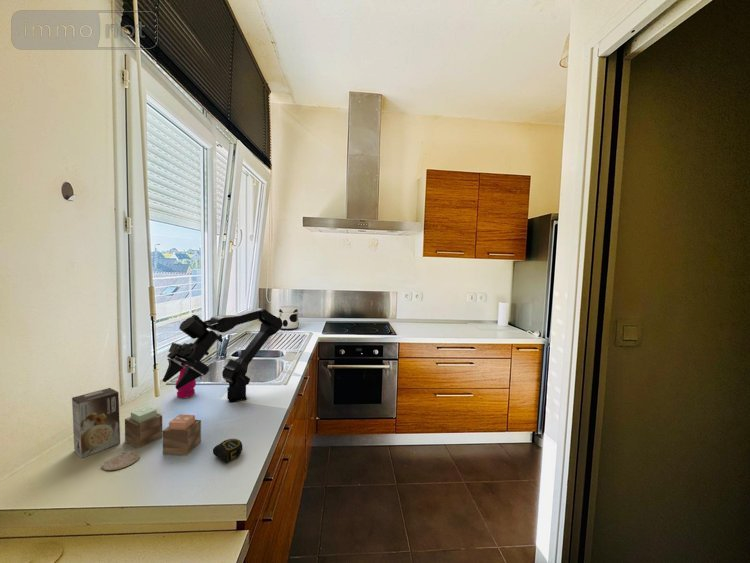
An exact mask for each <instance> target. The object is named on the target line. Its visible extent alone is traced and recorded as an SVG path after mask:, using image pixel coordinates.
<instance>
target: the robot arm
mask: <svg viewBox="0 0 750 563" xmlns="http://www.w3.org/2000/svg"><path fill="white" fill-rule="evenodd" d="M256 320H258V321H259V322H260V323H261V324H260V326H259V331H258V333H257V334H256V335H255V336H254V338H253V339H252V340H251V341H250V342H249V344H248V345H247V347H246V348H244V350H243V351H242V353H241V354H240V355H239V357H237V358H236V359H235V360H234V359H229V360H228V362H227V363H226V365H225V366H223V369H222V372H221V373H222V374H221V375H222V378H223V379H224V380H225V382H226V383H227V384H228V386H227V387H226V390H227V393H226V394H227V396H226V397H227V400H228V403H234V402H240V401H245V400H247V385H249V384H250V381H251V378H250V377H248V376H247V372H248V367H249V364H250V363H251V362H252V360H253V359H254V358H255V356H256V355H257V354H258V352H259V351H260V350H261V348H262V347H263V346H264V345H265V344H266V342H267V341H268V339H269V338H270V337H272V336H274V335H275V334H277V333H278V332H279V331H280V330H282V329H281V327H282V325H283V324H282V320H281V319H280V318H279V316H276V315H274V314H272V313H271V312H269V310H266V309H265V308H260V307H257V308H255V309H251V310H247V311H243V312H240V313H236V314H235V313H234V314H227V315H226V314H222V315H219V314H218V315H214V316H212V317H210V319H207V320H202V319H201V317H199V316H198V315H197V314H192V315H191V317H188V318H186V319H184V320H182V322H181V323H180V325H179V330H180V331H181V332H183V334H185V335H187V336H188V337H189V338H191V339H193V340H194V339H195V341H193V342H189V343H185V342H184V343H183V344H180V343H176V342H171V345H170V347H169V349H168V352H169V353H168V354H167V356H166V357H167V359H166V360H167V361H168V367H167V369H166V372H165V374H164V376H163V378H162V380H161V381H162V382H164V383H166V382H168V381H169V380H171V379H172V378H173V377H175V376H176V375H177V374H178V373H180V371H181V370H182V369H183V368H184V367H182V366H185V365H188V366H191V367H188V366H185V373H184V375H183V376H182V378H181V379H180V380H179V382H178V383H177V385H176V384H175V386H174V387H175V389H176V388H177V389H179V388H181V387H182V386H184V385H186V384H187V383H189V382H191V381H193V380H196V379H198V378H200V377H201V378H202V377H204V376H206V375H207V374H208V372H210V367H209V366H208V365H207V364H206V363H204V362H202V361H201V360H202V359H203V358H204V356H208V355H209V354H210V352H209V351H210V349H211V348H212V347H213V346H214V344H215V343H216V342H219V343H222V342H223V341H224V340H223V335H222V334H221V333H223V334H224V333H227V332H229V331H231V330H233V329H234V328H235V327H236V326H239V325H242V324H245V323H250V322H254V321H256ZM208 329H209V330H208ZM217 332H218V333H217ZM219 333H220V334H219ZM181 365H182V366H181ZM177 389H176V390H177Z"/></svg>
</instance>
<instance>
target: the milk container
mask: <svg viewBox="0 0 750 563" xmlns="http://www.w3.org/2000/svg"><path fill="white" fill-rule="evenodd" d="M278 318H280V319H281V320H282V324H283V325H282V327H281V329H280V330H285V331H286V330H287V331H288V330H295V329H297V328H299V325H300V320H299V307H298V306H295V305H283V306H279V308H278Z"/></svg>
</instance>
